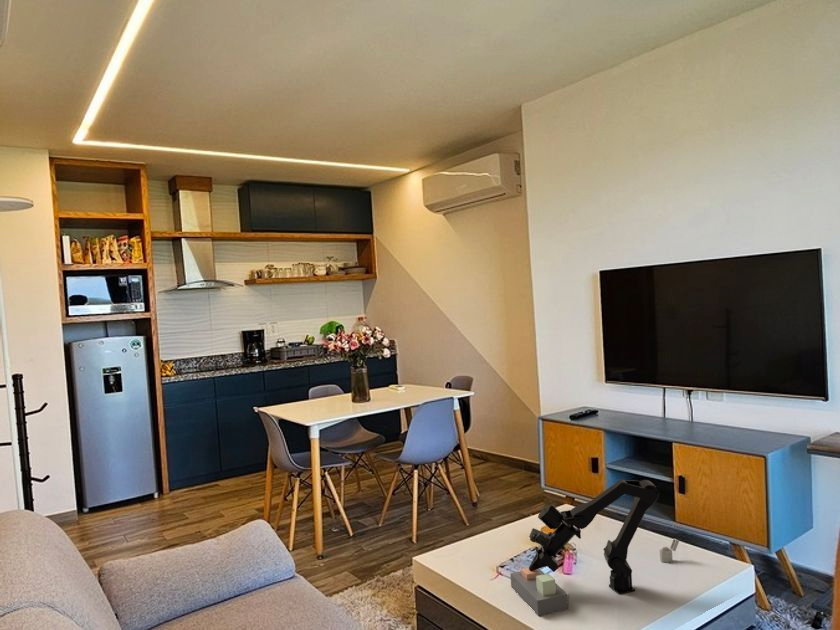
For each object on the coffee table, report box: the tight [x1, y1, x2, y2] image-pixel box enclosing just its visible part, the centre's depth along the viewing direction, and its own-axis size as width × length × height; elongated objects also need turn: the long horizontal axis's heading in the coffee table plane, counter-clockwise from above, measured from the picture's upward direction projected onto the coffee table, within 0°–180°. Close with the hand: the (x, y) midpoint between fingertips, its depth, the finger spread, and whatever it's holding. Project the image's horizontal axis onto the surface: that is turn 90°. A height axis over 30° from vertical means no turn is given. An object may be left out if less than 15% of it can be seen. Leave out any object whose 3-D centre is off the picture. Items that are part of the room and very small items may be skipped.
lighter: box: [659, 538, 680, 563], centre depth 225 cm, size 7×2×8 cm, turn 96°
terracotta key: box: [520, 567, 539, 581], centre depth 209 cm, size 5×5×6 cm
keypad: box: [509, 568, 570, 617], centre depth 203 cm, size 11×21×5 cm, turn 15°
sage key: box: [536, 573, 556, 596], centre depth 197 cm, size 5×5×6 cm
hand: (529, 569), depth 209 cm, fingers closed, pressing on terracotta key
